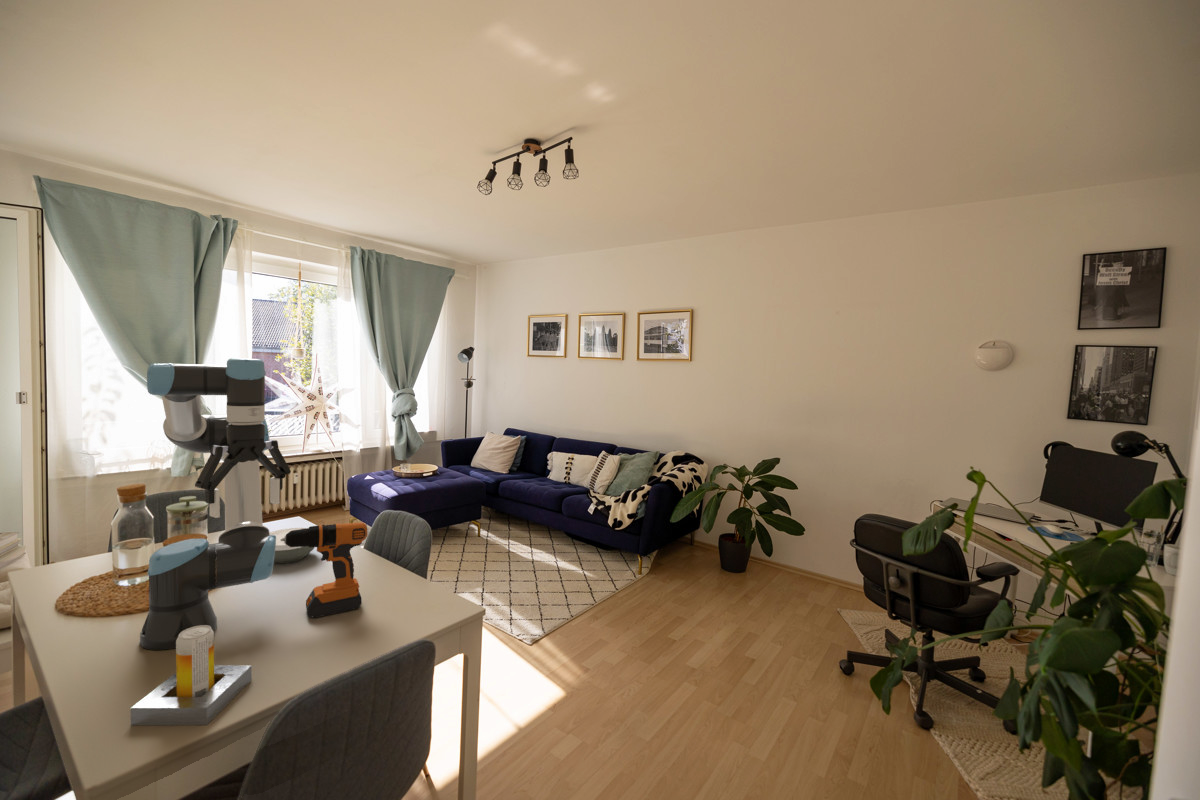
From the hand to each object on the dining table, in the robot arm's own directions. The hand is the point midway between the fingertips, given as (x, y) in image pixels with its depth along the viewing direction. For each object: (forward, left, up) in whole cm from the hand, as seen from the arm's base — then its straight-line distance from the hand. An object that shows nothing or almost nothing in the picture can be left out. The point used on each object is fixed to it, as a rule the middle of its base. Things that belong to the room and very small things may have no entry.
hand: (246, 509), depth 122 cm
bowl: (-20, +57, -35) cm, 70 cm away
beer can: (+2, -20, -35) cm, 40 cm away
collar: (+2, -20, -35) cm, 40 cm away
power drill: (+10, +19, -35) cm, 41 cm away
